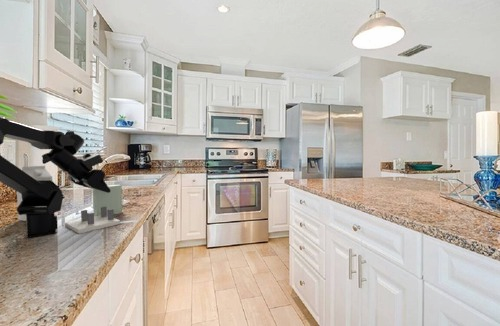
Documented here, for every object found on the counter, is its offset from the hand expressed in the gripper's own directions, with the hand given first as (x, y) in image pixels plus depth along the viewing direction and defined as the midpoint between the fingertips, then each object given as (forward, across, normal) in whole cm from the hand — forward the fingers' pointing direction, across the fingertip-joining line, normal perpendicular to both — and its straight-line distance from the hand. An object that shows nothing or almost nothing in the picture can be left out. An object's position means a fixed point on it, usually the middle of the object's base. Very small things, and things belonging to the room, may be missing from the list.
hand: (104, 190), depth 93 cm
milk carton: (-5, +14, +19) cm, 24 cm away
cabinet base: (+1, -10, +12) cm, 16 cm away
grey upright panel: (+8, 0, +6) cm, 10 cm away
